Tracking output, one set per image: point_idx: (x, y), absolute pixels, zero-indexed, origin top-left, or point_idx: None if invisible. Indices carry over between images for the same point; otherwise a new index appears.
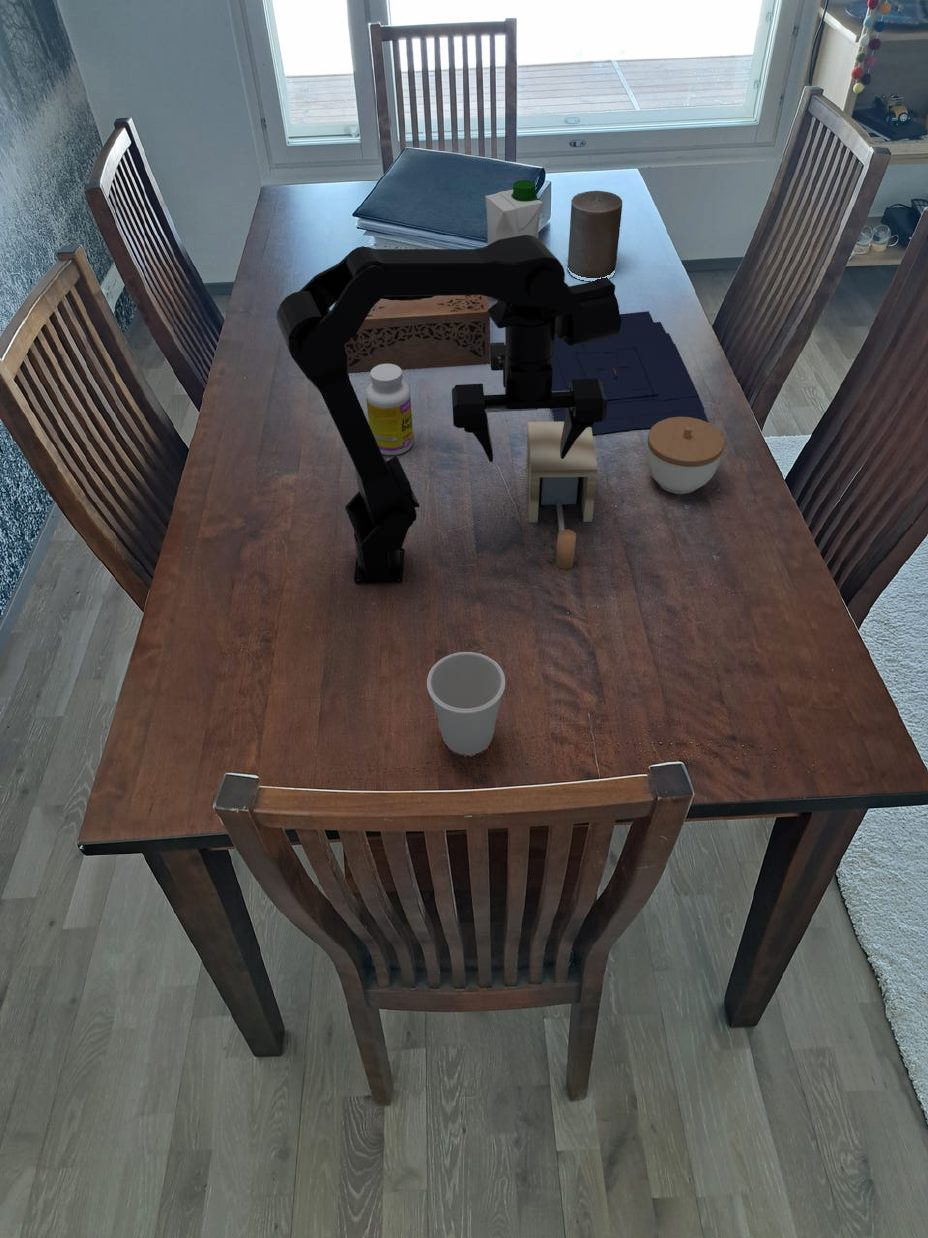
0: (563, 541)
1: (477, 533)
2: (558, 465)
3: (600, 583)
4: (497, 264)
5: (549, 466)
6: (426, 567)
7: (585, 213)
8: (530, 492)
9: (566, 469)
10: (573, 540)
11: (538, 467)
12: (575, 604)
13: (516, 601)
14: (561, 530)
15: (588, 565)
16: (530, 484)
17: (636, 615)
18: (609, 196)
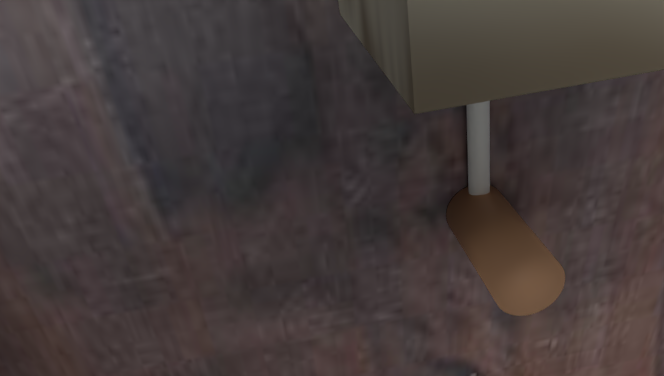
0: (513, 314)
1: (133, 115)
2: (605, 28)
3: (575, 267)
4: None
5: (542, 53)
6: (3, 311)
7: None
8: (374, 59)
9: (651, 68)
10: (550, 300)
11: (465, 77)
12: (495, 348)
13: (332, 371)
14: (511, 266)
15: (550, 204)
16: (381, 55)
17: (646, 348)
18: None
